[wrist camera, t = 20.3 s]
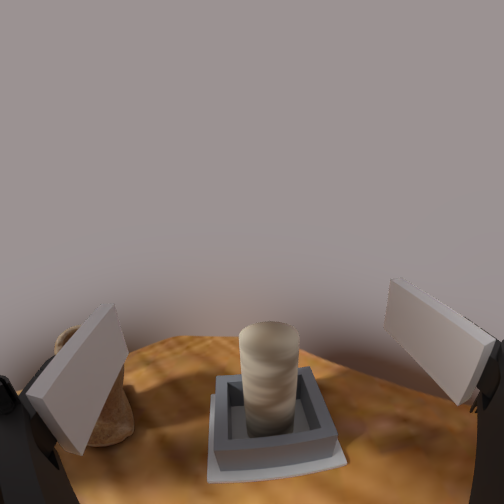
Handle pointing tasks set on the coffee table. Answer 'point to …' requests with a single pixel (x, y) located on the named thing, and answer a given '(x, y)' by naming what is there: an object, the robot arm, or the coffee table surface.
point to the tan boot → (107, 407)
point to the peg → (269, 377)
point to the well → (272, 447)
